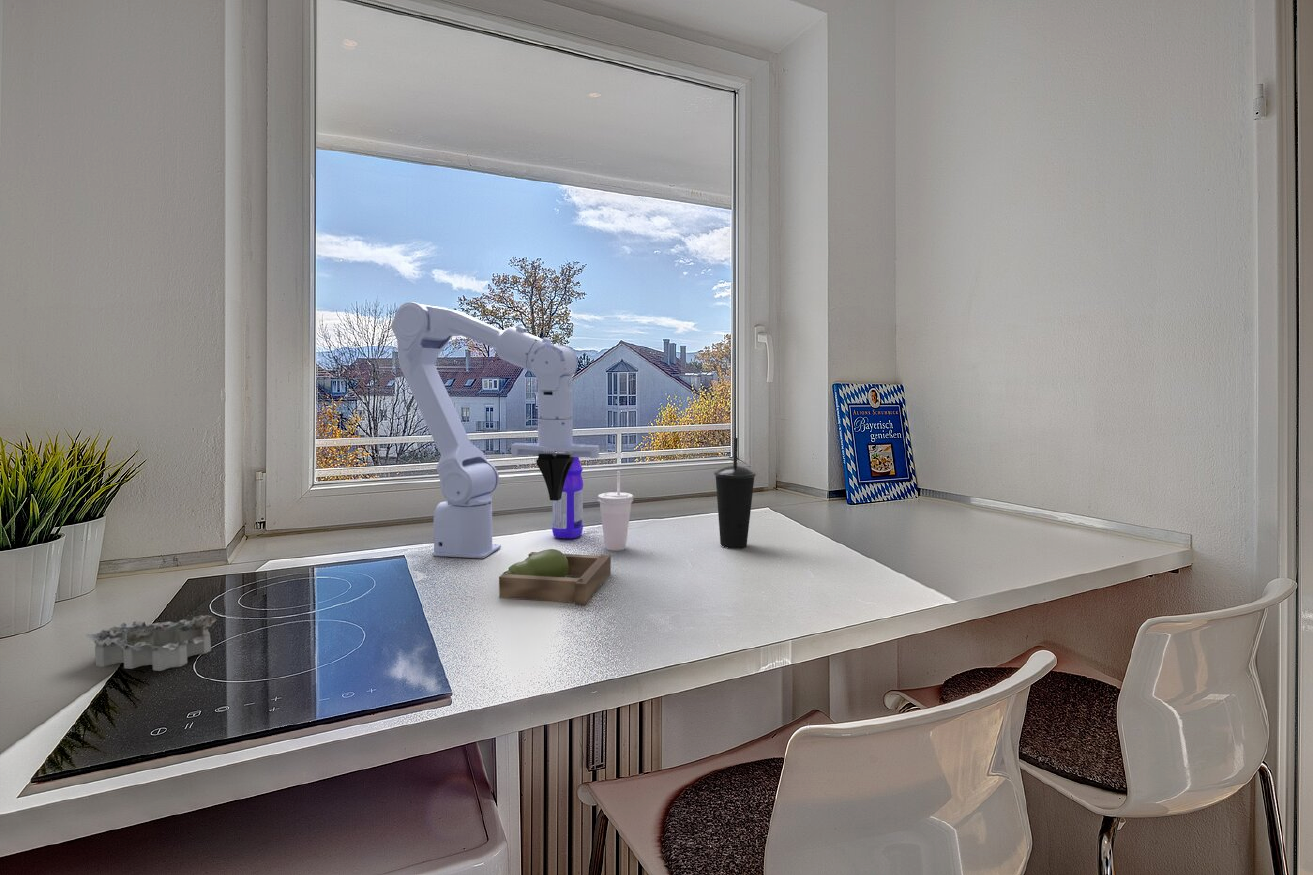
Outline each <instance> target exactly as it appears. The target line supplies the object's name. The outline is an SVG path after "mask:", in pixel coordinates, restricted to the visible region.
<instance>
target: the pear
mask: <svg viewBox="0 0 1313 875" xmlns="http://www.w3.org/2000/svg"><path fill="white" fill-rule="evenodd" d="M536 552H537V553H535V554H533V555H531V556H529V557H526V558H525V559H524V560H523V561H518V562H516V563H514V564H512V565H510V566H509V567H508V568H507V569H508V570H506V571H503V573H502V574H515V575H531V576H548V577H564V578H567V576H568V575H567V574H568V571H569V564H568V560H567V558H566V556H565V555H564V554H565V553H563V552H562V551H561V550H559V549H555V548H549V549H544V550H541V551H536Z"/></svg>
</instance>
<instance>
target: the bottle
mask: <svg viewBox="0 0 1313 875" xmlns="http://www.w3.org/2000/svg"><path fill="white" fill-rule="evenodd" d="M556 453H565V452H556ZM573 458H574V461H573V463H572V465H571V467H570V469H569V472H568V474H567V477H566V479H565V483H564V486H563V490H562V496H561V499H560V500H558V501H552V526H551V532H552V535H553V537H555V538H556V539H568V540H569V539H570V540H572V539H576V538H578V537H579V536H581V535H582V532H583V530H584V525H583V524H584V520H583V519H584V516H583V515H584V513H583V512H584V511H583V510H584V509H583V505H584V504H583V502H584V501H583V500H584V499H583V498H584V495H583V494H584V492H583V490H584V480H583V477H582V473H583V467H582V464H581V462H580V457H573Z"/></svg>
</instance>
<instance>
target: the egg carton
mask: <svg viewBox="0 0 1313 875" xmlns="http://www.w3.org/2000/svg"><path fill="white" fill-rule="evenodd" d="M216 621H217V617H216V616H215V615H210V614H205V615H202V614H201V615H198V616H193V617H192V620H187V619H181V620H178V622H173V621H165V622H164V621H163V622H154V623H151V624H149V625H148V624H146V622H145V621H137V620H134V621H133V622H132V624H131V625H130V626H127V624H126V622H123V623H121V625H119V626H118V627H117V626H113V627H110V628H109V629H101V631H100V632H97V633H94V634H85V636H86V637H87V638H89V639H90V640H91V641H93V642H94V644H95V646H94V655H95V666H96V667H107V666H110V665H113V664H121V663H122V664H123V669H128V670H129V669H130V670H131V669H135V668H138V667H143V666H150V665H151V666H152V671H156V672H157V671H158V672H161V671H164V670H167V669H170V668H178V667H179V668H180V667H183V666H185V665H187V664H188V658H190V657H192V656H196V655H206V654H207V653H210V652H211V651H212V646H211V645H212V643H211V633H210V632H209V628H211V627H212V625H213V623H214V622H216Z"/></svg>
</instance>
